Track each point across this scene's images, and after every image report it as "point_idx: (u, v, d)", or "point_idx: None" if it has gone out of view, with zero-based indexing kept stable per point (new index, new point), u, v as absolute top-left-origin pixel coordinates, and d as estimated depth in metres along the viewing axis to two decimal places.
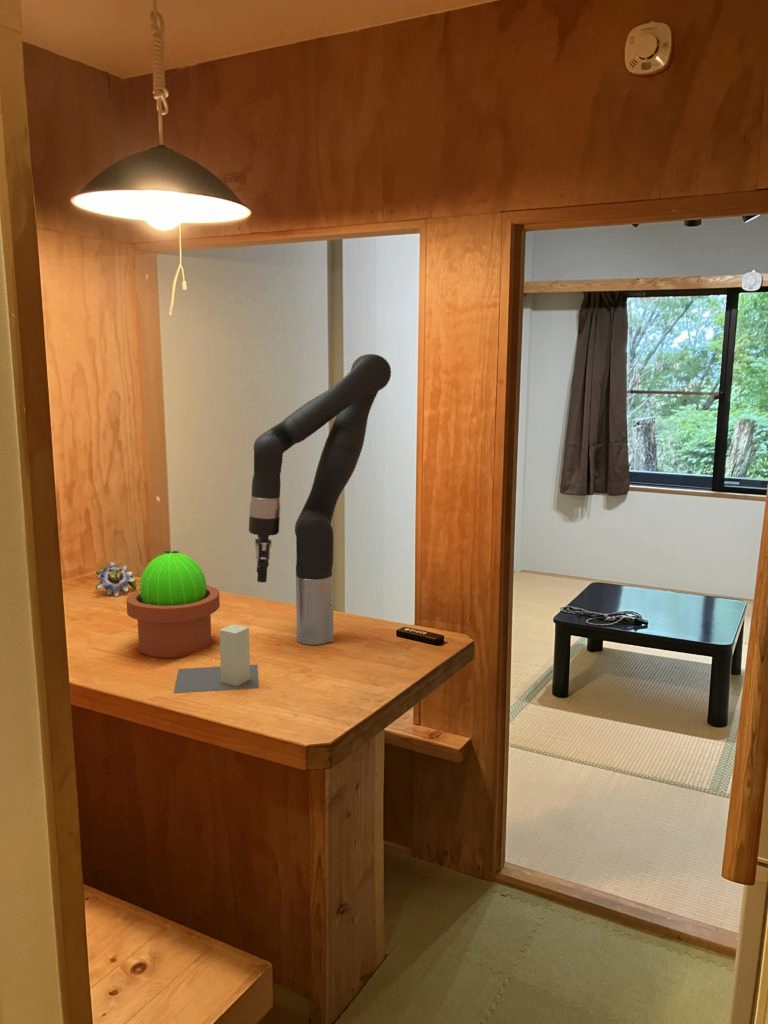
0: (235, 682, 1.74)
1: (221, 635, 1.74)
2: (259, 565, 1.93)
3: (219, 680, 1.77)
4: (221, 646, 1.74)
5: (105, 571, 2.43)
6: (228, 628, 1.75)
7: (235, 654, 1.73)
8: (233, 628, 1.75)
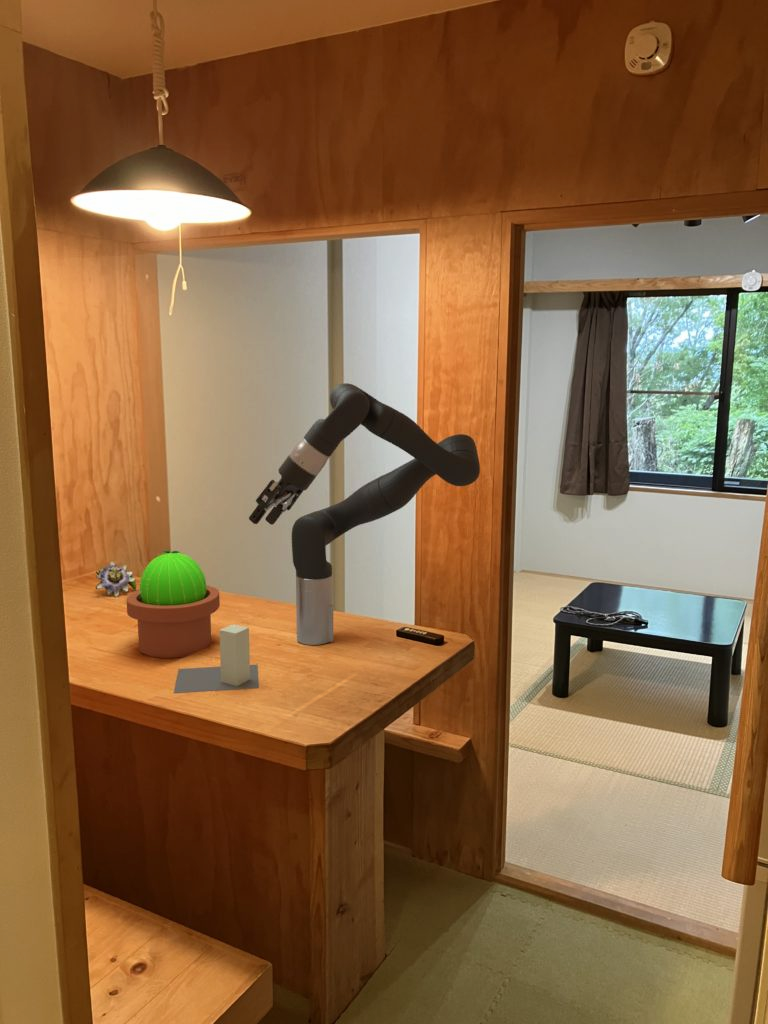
0: (235, 682, 1.74)
1: (221, 635, 1.74)
2: (257, 501, 1.68)
3: (219, 680, 1.77)
4: (221, 646, 1.74)
5: (105, 571, 2.43)
6: (228, 628, 1.75)
7: (235, 654, 1.73)
8: (233, 628, 1.75)
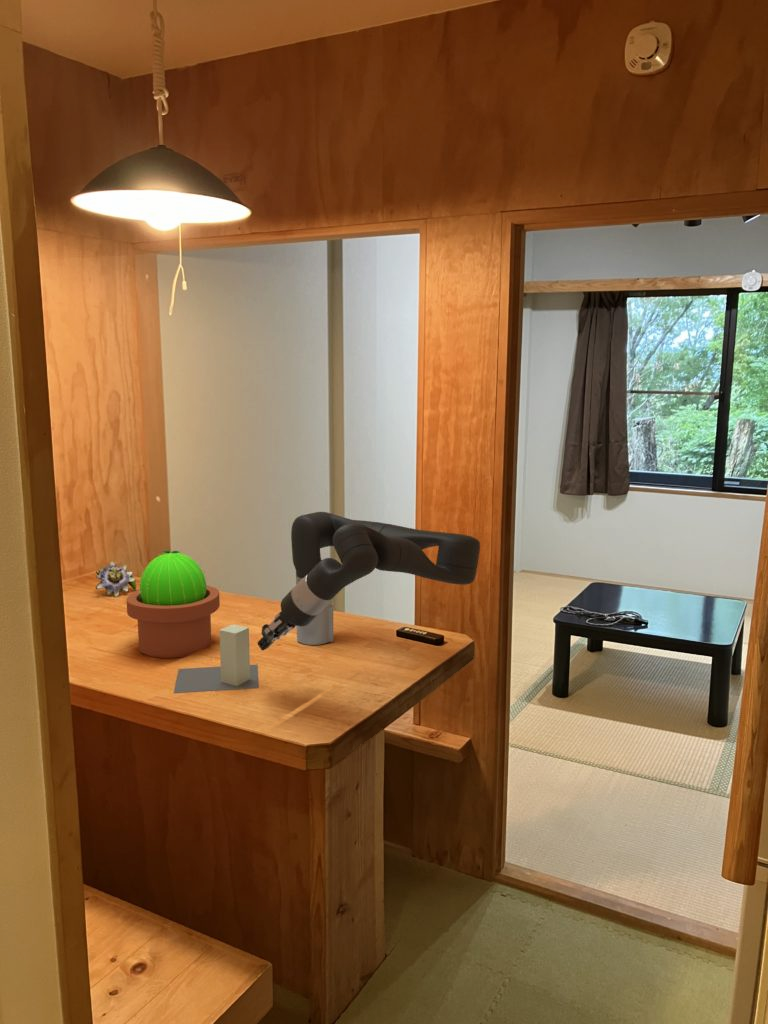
0: (235, 682, 1.74)
1: (221, 635, 1.74)
2: (262, 634, 1.66)
3: (219, 680, 1.77)
4: (221, 646, 1.74)
5: (105, 571, 2.43)
6: (228, 628, 1.75)
7: (235, 654, 1.73)
8: (233, 628, 1.75)
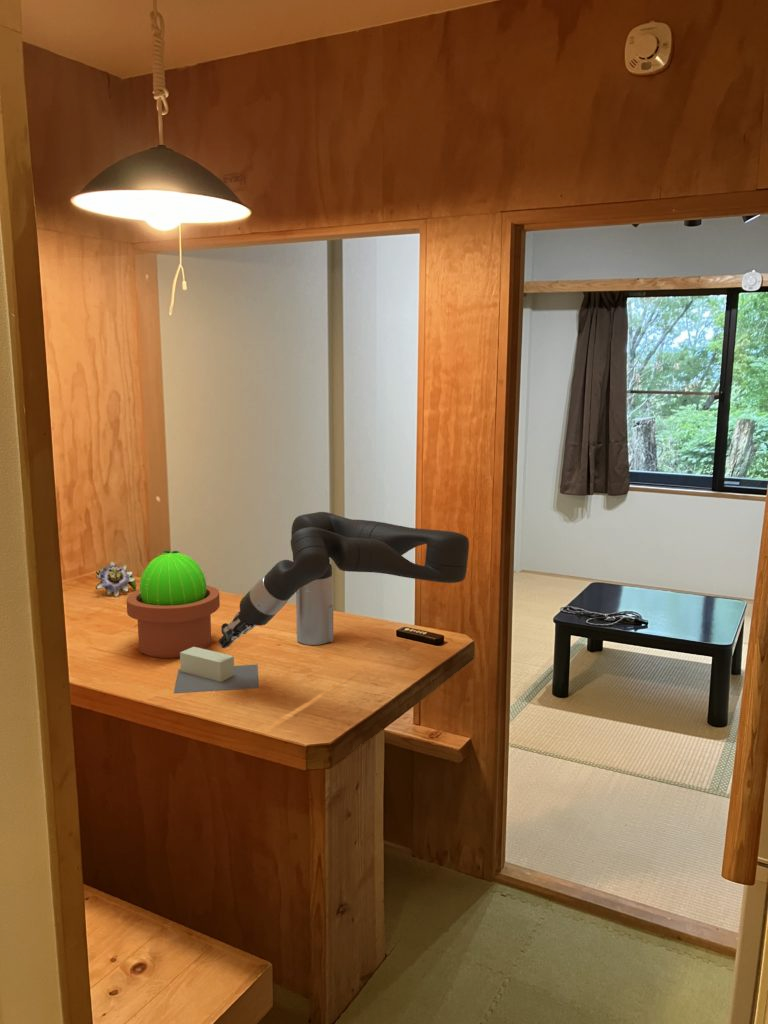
0: (217, 663, 1.76)
1: (184, 670, 1.81)
2: (222, 633, 1.72)
3: None
4: (192, 672, 1.80)
5: (105, 571, 2.43)
6: None
7: (195, 657, 1.79)
8: None
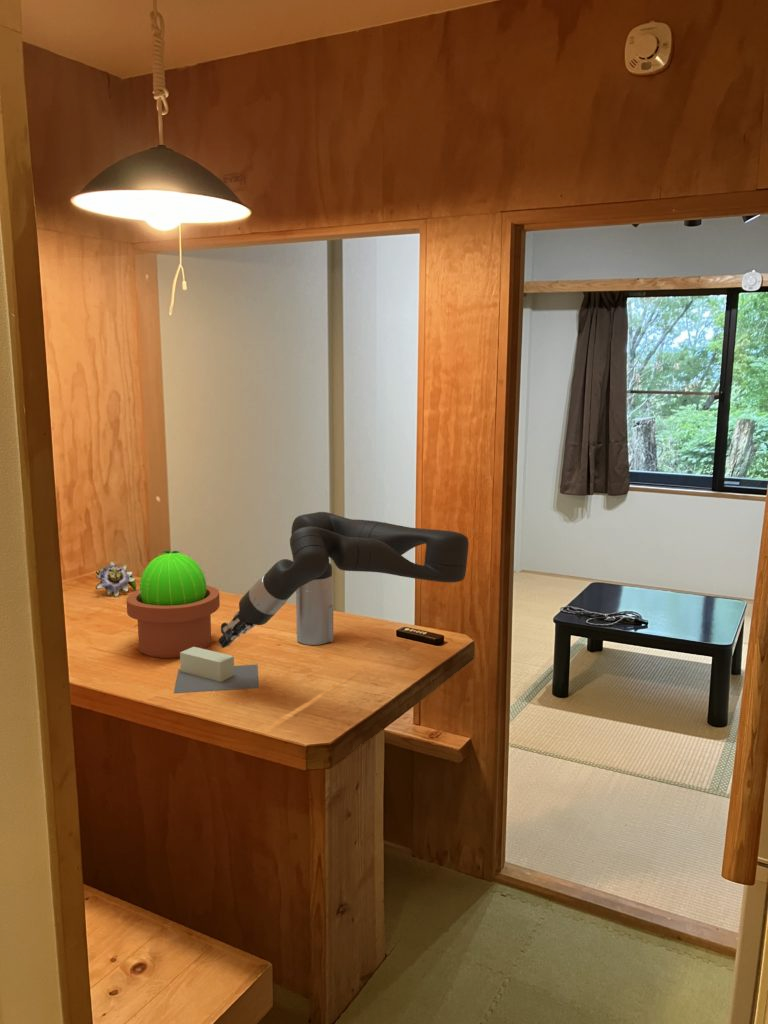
0: (217, 663, 1.76)
1: (184, 670, 1.81)
2: (222, 632, 1.72)
3: None
4: (192, 672, 1.80)
5: (105, 571, 2.43)
6: None
7: (195, 657, 1.79)
8: None
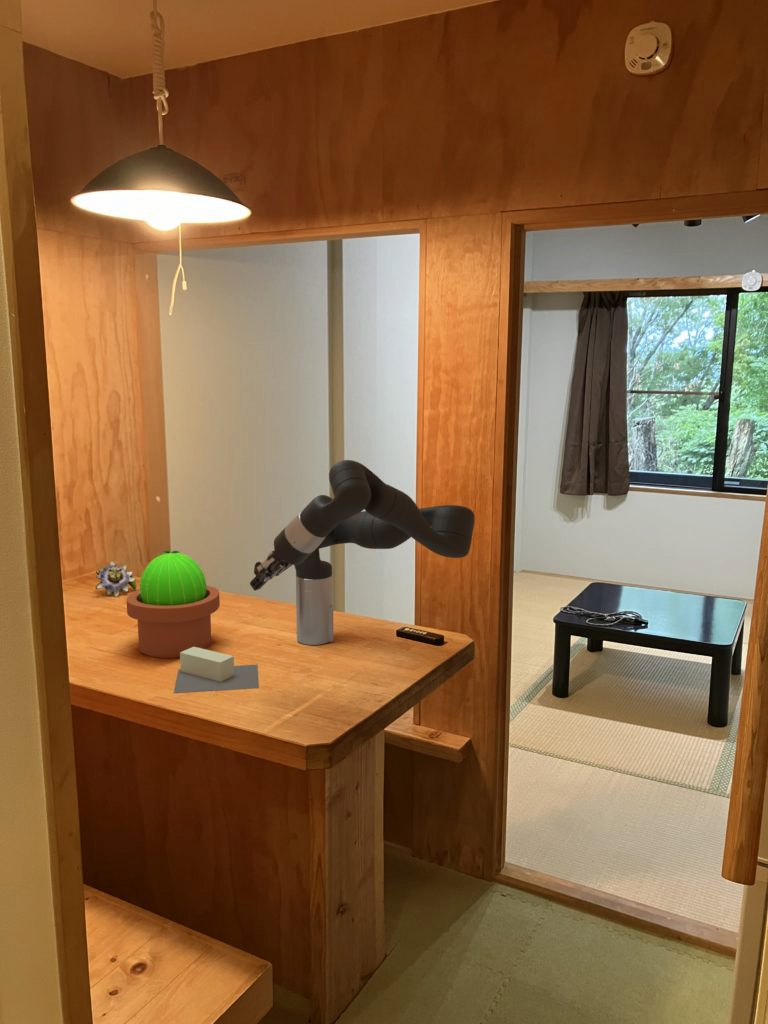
0: (217, 663, 1.76)
1: (184, 670, 1.81)
2: (255, 573, 1.65)
3: None
4: (192, 672, 1.80)
5: (105, 571, 2.43)
6: None
7: (195, 657, 1.79)
8: None
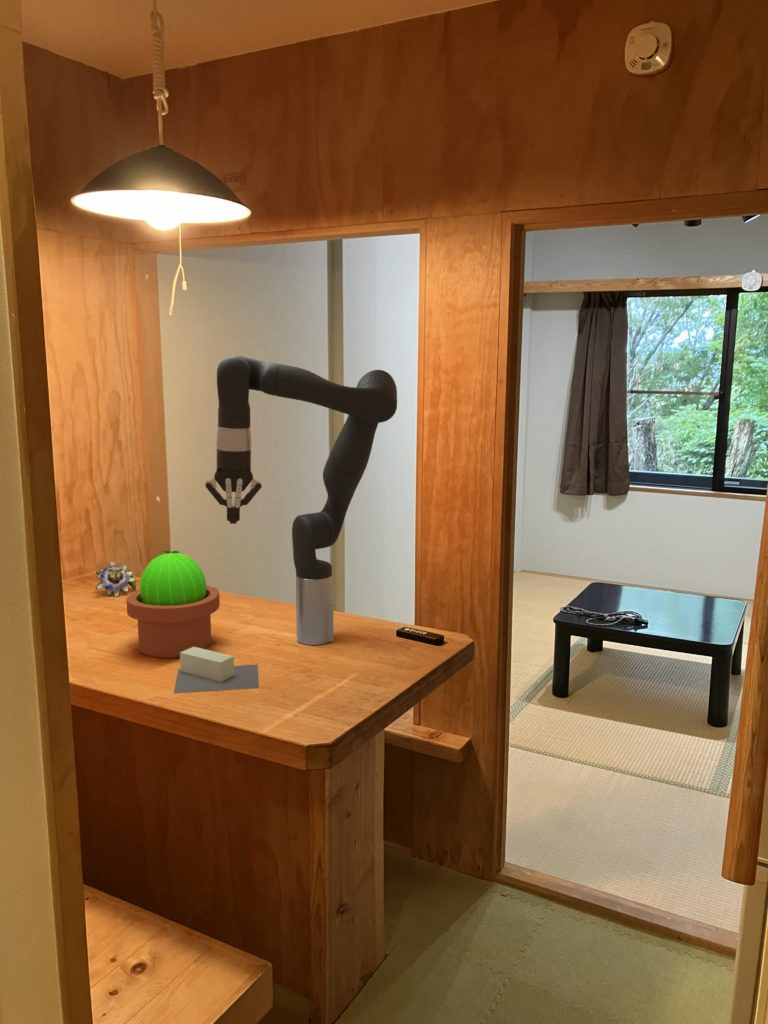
0: (217, 663, 1.76)
1: (184, 670, 1.81)
2: None
3: None
4: (192, 672, 1.80)
5: (105, 571, 2.43)
6: None
7: (195, 657, 1.79)
8: None
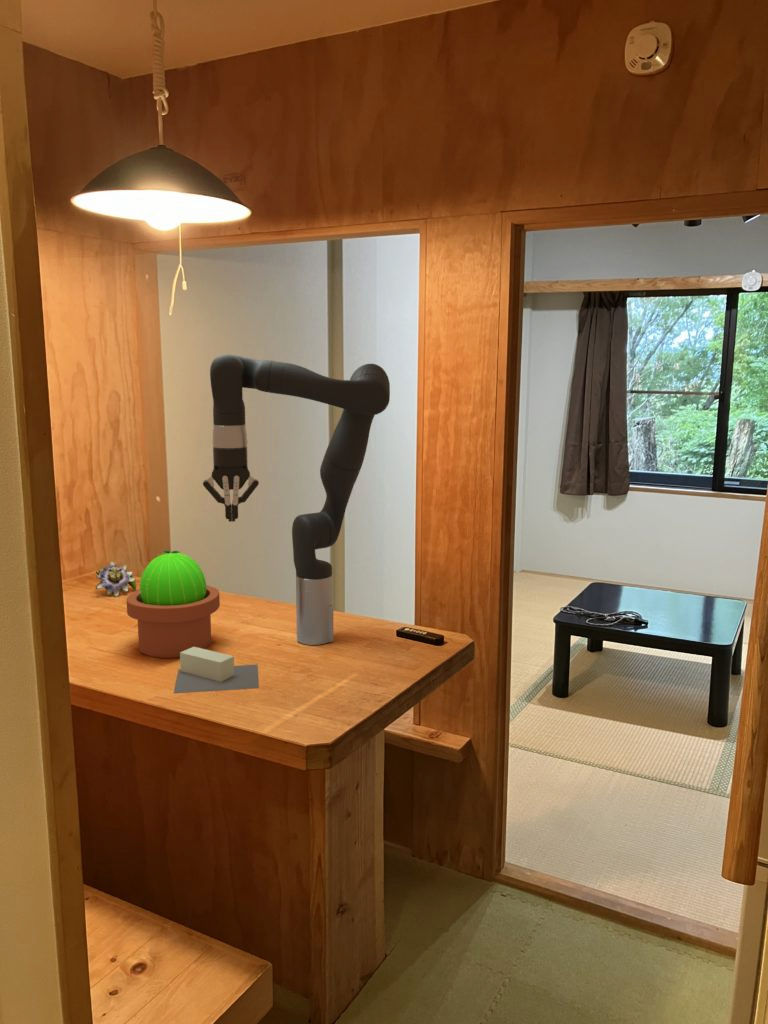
0: (217, 663, 1.76)
1: (184, 670, 1.81)
2: None
3: None
4: (192, 672, 1.80)
5: (105, 571, 2.43)
6: None
7: (195, 657, 1.79)
8: None
